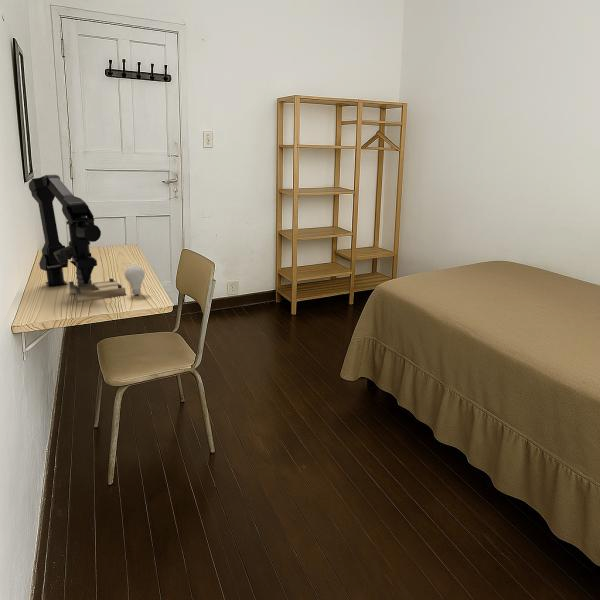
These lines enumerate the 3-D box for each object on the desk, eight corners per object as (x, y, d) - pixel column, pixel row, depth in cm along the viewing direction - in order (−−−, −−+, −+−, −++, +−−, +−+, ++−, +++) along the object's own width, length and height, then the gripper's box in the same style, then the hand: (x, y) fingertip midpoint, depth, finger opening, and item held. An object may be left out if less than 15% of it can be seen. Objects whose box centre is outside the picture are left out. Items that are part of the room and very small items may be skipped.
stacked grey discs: (76, 285, 187) (74, 268, 185) (90, 283, 189) (88, 267, 187) (79, 288, 183) (77, 271, 181) (93, 286, 185) (91, 269, 184)
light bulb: (123, 295, 187) (120, 264, 184) (140, 291, 191) (138, 262, 188) (132, 299, 182) (129, 267, 179) (150, 295, 187) (147, 264, 184)
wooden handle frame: (70, 292, 190) (68, 281, 189) (115, 286, 199) (114, 275, 198) (78, 301, 179) (76, 289, 178) (125, 294, 188) (124, 283, 186)
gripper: (49, 236, 184) (55, 280, 189) (58, 244, 169) (64, 291, 174) (82, 234, 190) (87, 276, 195) (94, 241, 175) (99, 286, 180)
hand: (84, 282), depth 186 cm, fingers closed on stacked grey discs, 5 cm apart
